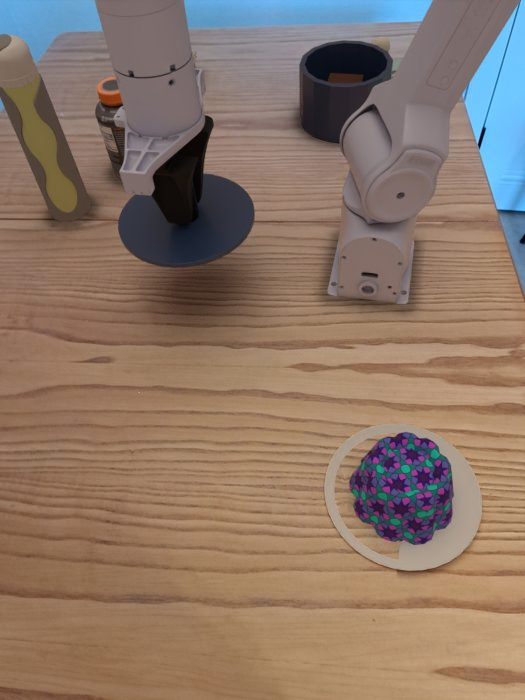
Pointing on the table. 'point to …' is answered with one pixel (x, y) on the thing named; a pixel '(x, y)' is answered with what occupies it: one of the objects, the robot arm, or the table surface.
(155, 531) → the table surface
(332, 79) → the block
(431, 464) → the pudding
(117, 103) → the pill bottle
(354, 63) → the pot
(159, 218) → the lid
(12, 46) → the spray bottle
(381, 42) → the pacifier
